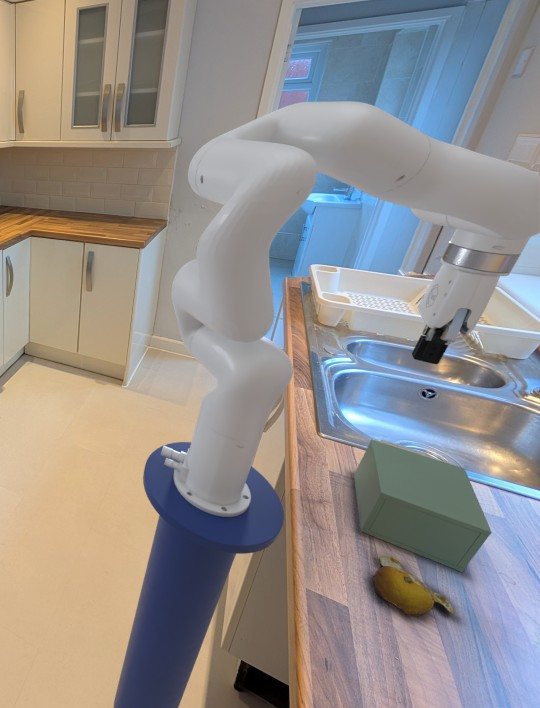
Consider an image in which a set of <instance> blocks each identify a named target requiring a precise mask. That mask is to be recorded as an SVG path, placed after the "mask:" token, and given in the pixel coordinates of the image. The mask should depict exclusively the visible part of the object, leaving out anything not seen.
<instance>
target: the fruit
mask: <svg viewBox="0 0 540 708" xmlns="http://www.w3.org/2000/svg"><path fill="white" fill-rule="evenodd" d="M379 563H380V565H381V566H382V567H380V568H379V569H378V570H377V571H376V572H375V573H374V575H373V577H372V579H373V581H372V582H373V588H374V591H375V593H376V594H378V595H379V596H380V597H381V598H382V599H384V600H385V601H387V602H390V603H391V604H393V605H395V607H397V608H398V609H400V610H402V611H403V613H404V614H406V615H413V616H415V617H420V616H421V615H424V614H426V613H428V612H430V611H431V609H432V608H433V607H434V604H435V603H438V604H441V605H442V606H443V607H444V608H445V610H446V612H447V613H449V614H451V615H452V614H454V613H455V612H454V608H453V606H452V605H451V603H450V601H449V600H448V599H447V597H445V596H444V595H442V594H441V595H440V593H437V592H435V591H433V590H432V589H430V588H429V587H428V585H427V584H426V583H425V584H424V582H422V581H421V580H420V579H419V578H417V577H415V576H414V575H413V574H412V573H410V572H408V571H406V570H404V568H403V567H402V566H401V563H400V562H399V561H398V560H396V558H394V557H392V556H388V555H381V556H380V557H379Z"/></svg>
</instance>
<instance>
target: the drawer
mask: <svg viewBox="0 0 540 708" xmlns="http://www.w3.org/2000/svg"><path fill="white" fill-rule="evenodd" d="M372 440H376V441H379V442H382V443H385V444H388V445H391V446H395V447H398V448H401V449H404V450H407V451H411V452H414V453H417V454H420V455H423V456H426V457H430V458H433V459H436V460H439V461H442V462H446V463H449V464H452V465H455V464H454V463H451V462H448V461H444V460H442V459H438V458H435V457H432V456H430V455H429V456H428V454H427V452H424V451H421V450H418V449H415V448H412V447H408V446H405V445H401V444H399V443H396V442H392V441H390V440H386V439H384V438H383V439H380V440H377V439H375V438H374V439H372Z"/></svg>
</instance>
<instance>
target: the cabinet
mask: <svg viewBox="0 0 540 708" xmlns="http://www.w3.org/2000/svg"><path fill="white" fill-rule="evenodd" d="M376 440H377V439H375V440H373V439H371V440H370V442H369V444H368V446H367V448H366V450H365V452H364V453H363V456H362V458H361V459H360V461H359V464H358V466H357V468H356V470H355V472H354V474H353V479H354V487H355V496H356V504H357V513H358V522H359V528H360V529H359V530H360V532H361V533H363V534H367V535H369V536H372V537H374V538H376V539H378V540H381V541H384V542H386V543H389V544H392V545H394V546H396V547H398V548H401V549H403V550H406V551H408V552H411V553H414V554H416V555H418V556H420V557H423V558H426V559H428V560H430V561H433V562H435V563H438V564H441V565H443V566H446V567H448V568H451V569H453V570H456V571H458V572H460V573H463V572H464V570H465V569H466V567H467V566H468V565H469V563H470V562H471V561H472V559H473V558H474V557H475V555H476V554H477V553H478V551H480V549H481V547H482V546H483V545H484V543H485V542H486V541H487V539H488V538H489V537H490V535H492V530H491V527H490V525H489V523H488V520H487V518H486V516H485V513H484V510H483V508H482V506H481V504H480V502H479V498H478V497H477V495H476V492H475V490H474V488H473V485H472V483H471V480H470V478H469V476H468V473H467V471H466V469H465V467H461V466H458V465H455V464H454V465H452V464H453V463H451V464H449V463H450V462H448V463H446V462H447V461H445V462H442V461H443V460H442V461H439V460H440V459H438V460H436V459H437V458H435V459H433V458H434V457H432V458H430V457H431V456H429V457H426V456H423V455H420V454H417V453H414V452H411V451H407V450H404V449H401V448H398V447H395V446H391V445H388V444H385V443H382V442H379V441H380V440H378V441H376Z"/></svg>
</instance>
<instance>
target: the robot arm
mask: <svg viewBox="0 0 540 708" xmlns="http://www.w3.org/2000/svg"><path fill="white" fill-rule="evenodd" d="M318 173H320V174H323V175H325V176H328V177H330V178H331V179H334V180H336V181H339V182H341V183H344V184H346V185H348V186H350V187H352V188H354V189H357V190H359V191H361V192H363V193H364V194H367V195H369V196H370V197H372V198H374V199H378V200H380V201H383V202H387V203H391V204H393V205H398V206H401V207H404V208H408V209H410V211H411V212H412V214H413V215H414V216H415V217H416V218H418V219H419V220H421V221H423V222H427V223H428V224H432V225H436V226H442V227H445V228H449V229H454V230H455V231H454V233H453V235H452V236H451V239H450V240H449V242H448V244H447V246H446V248H445V250H444V252H443V254H442V256H441V259H440V260H439V263H440V264H441V266H440V268H439V269H438V271H437V272H436V274H435V276H434V277H433V278H432V281H431V282H430V284H429V286H428V287H427V289H426V291H425V293H424V295H423V296H422V298H421V300H420V301H419V304H418V306H417V311H418V312H419V313H418V314H420V317H421V318H422V320H423V321H424V323H425V326H424V328H423V330H422V332H421V333H422V334H420V336H419V338H418V340H417V342H416V344H415V346H414V348H413V350H412V351H411V356H412V358H413V360H416V361H420V362H424V363H427V364H432V365H438V364H439V363H440V362H441V360H442V358H443V356H444V355H445V353H446V350H447V348H449V346H450V345H451V343H455V342H456V340H457V338H458V336H459V333H460V334H461V335H464V336H465V335H469V334H471V333H472V332H473V330H474V329H475V327H476V326H477V324H478V323H479V321H480V320H481V318H482V316H483V314H484V312H485V310H486V308H487V307H488V304H489V302H490V300H491V298H492V296H493V294H494V292H495V290H496V287H497V285H498V282H499V280H500V277H508V276H510V274H511V273H512V271H513V269H514V267H515V265H516V264H517V262H518V260H519V258H520V257H521V255H522V253H523V251H524V249H525V248H526V246H527V245H528V243H529V241H530V239H531V238H532V237H533V236H534V237H535V236H536V235H538V234H540V174H538V173H537V172H535V171H533V170H531V169H528V168H527V167H525V166H522V165H519V164H515V163H513V162H510V161H508V160H507V161H506V160H503V159H500V158H497V157H494V156H491V155H486V154H483V153H480V152H477V151H473V150H471V149H468V148H466V147H462V146H459V145H456V144H453V143H449V142H446V141H442V140H438V139H436V138H434V137H432V136H429V135H428V134H426V133H424V132H423V131H421V130H419V129H417V128H415V127H414V126H412V125H410V124H408V123H407V122H405V121H403V120H402V119H400V118H398V117H396V116H394V115H393V114H392V113H391V114H390V113H389V112H387V111H385V110H383V109H381V108H380V107H377V106H375V105H374V104H370V103H367V102H361V101H352V100H351V101H349V100H347V101H346V100H345V101H344V100H343V101H341V100H340V101H302V102H295V103H292V104H289V105H286V106H284V107H281V108H278V109H276V110H274V111H272V112H269V113H266V114H264V115H262V116H260V117H257V118H256V119H253V120H251V121H249V122H247V123H245V124H243V125H240V126H238V127H235V128H234V129H231V130H229V131H227V132H225V133H222V134H220V135H217V136H216V137H214V138H212V139H211V140H209V141H207V142H206V143H205V144H202V146H201V147H200V148H199V149H198V150H197V151H196V153H194V155H193V157H192V158H191V160H190V163H189V166H188V170H187V181H188V184H189V186H190V188H191V190H192V191H193V192H194V193H195V194H196V195H197V196H199V197H200V198H202V199H204V200H206V201H210V202H213V203H216V204H219V205H222V207H221V209H220V210H219V211H218V212H217V214H216V215H215V216H214V217H213V219H212V220H211V221H210V223H208V225H207V226H206V228H205V229H204V230H203V232H202V233H201V235H200V236H199V239H198V242H197V245H196V250H195V253H196V254H195V256H196V258H194V259H191V260H190V261H188V262H186V263H185V264H183V265H182V266H181V268H179V270H178V271H177V272H176V273H175V276H174V278H173V281H172V284H171V291H170V295H171V296H170V298H171V302H172V307H173V310H174V314H175V318H176V322H177V323H176V324H177V327H178V331H179V335H180V337H181V338H180V339H181V341H182V344H183V346H184V348H185V349H186V351H187V352H188V353H189V355H191V357H193V358H194V360H196V361H197V362H198V363H199V364H200V365H202V367H204V368H205V369H206V370H207V371H208V372H209V373H210V374H211V375H212V376H213V377H214V378H215V379H216V381H217V386H216V387H215V388H214V389H212V390H210V391H208V392H207V393H206V394H205V396H204V397H203V398H202V401H201V403H200V408H199V411H198V415H197V419H196V423H195V427H194V431H193V435H192V439H191V441H190V442H191V446H190V448H189V449H188V451H187V453H185V452H183V451H181V453H180V452H177V451H175V450H173V449H171V448H169V447H166V446H164V445H162V446H163V449H162V452H161V455H162V456H164V457H167V458H166V460H165V464H164V465H166V466H169V467H172V468H174V469H175V470H174V474H173V478H174V483H175V485H176V487H177V489H178V491H179V492H180V494H181V495H182V496H183V497H184V498H185V499H186V500H187V501H188V502H190V503H191V504H192V505H194V506H195V507H197V508H199V509H200V510H202V511H205V512H207V513H210V514H213V515H216V516H222V517H233V516H238V515H240V514H242V513H244V512H245V511H246V510H247V508H248V507H249V504H250V501H251V494H250V490H249V488H248V486H247V484H246V483H245V482H246V480H247V477H248V474H249V471H250V468H251V466H252V465H253V462H254V459H255V457H256V455H257V452H258V448H259V446H260V443H261V440H262V438H263V434H264V431H265V429H266V426H267V422H268V420H269V418H270V415H271V414H272V411H273V409H274V407H275V405H276V404H277V402H278V400H279V399H280V397H281V396H282V394H283V393H284V392H285V390H286V389H287V388H288V386H289V384H290V382H291V380H292V378H293V373H294V368H293V363H292V361H291V358H290V357H289V356H288V354H287V353H286V352H285V351H284V350H283V349H282V347H280V346H279V345H278V344H277V343H275V342H274V341H272V340H271V339H270V338H268V337H266V335H267V334H268V333H269V332H270V330H271V328H272V327H273V324H274V321H275V320H274V319H275V301H274V293H273V285H272V274H271V268H270V267H271V266H270V249H271V246H272V243H273V241H274V239H275V238H276V236H277V234H278V233H279V232H280V230H281V229H282V228H283V227H284V226H285V224H286V223H287V222H288V221H289V220H290V219H291V218H292V217H293V216H294V214H295V213H296V212H297V211H298V210H300V208H301V207H302V206H303V205H304V204H305V203H306V201H307V200H308V198H309V197H310V195H311V193H312V192H313V189H314V187H315V186H316V181H317V178H318V177H317V176H318ZM168 458H169V459H168ZM171 459H173V460H175V461H178V463H177V462H175V461H173V460H171Z"/></svg>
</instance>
